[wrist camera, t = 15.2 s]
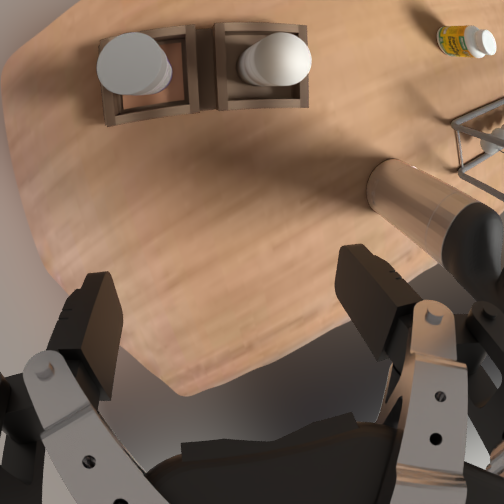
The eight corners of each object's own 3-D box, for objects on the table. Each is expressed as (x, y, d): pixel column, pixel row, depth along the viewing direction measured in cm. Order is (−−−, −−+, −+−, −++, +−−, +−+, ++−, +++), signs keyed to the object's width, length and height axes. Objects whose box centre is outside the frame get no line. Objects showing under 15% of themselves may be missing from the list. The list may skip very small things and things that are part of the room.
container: (126, 64, 27) (86, 48, 14) (166, 49, 27) (153, 20, 14) (138, 100, 29) (106, 107, 17) (178, 85, 30) (172, 80, 17)
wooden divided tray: (300, 32, 30) (344, 15, 20) (302, 105, 35) (346, 114, 26) (101, 47, 26) (69, 31, 17) (108, 124, 31) (78, 139, 22)
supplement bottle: (460, 46, 33) (502, 50, 25) (446, 61, 34) (490, 66, 26) (444, 21, 30) (487, 20, 22) (430, 35, 32) (475, 34, 24)
